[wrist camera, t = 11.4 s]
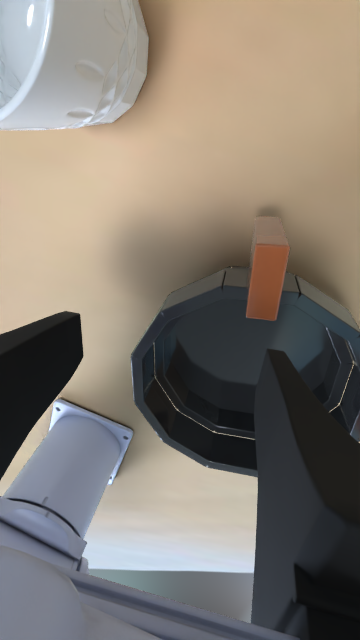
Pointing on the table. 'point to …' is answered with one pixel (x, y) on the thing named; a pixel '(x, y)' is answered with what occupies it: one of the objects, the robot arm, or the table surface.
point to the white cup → (69, 62)
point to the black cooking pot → (242, 354)
